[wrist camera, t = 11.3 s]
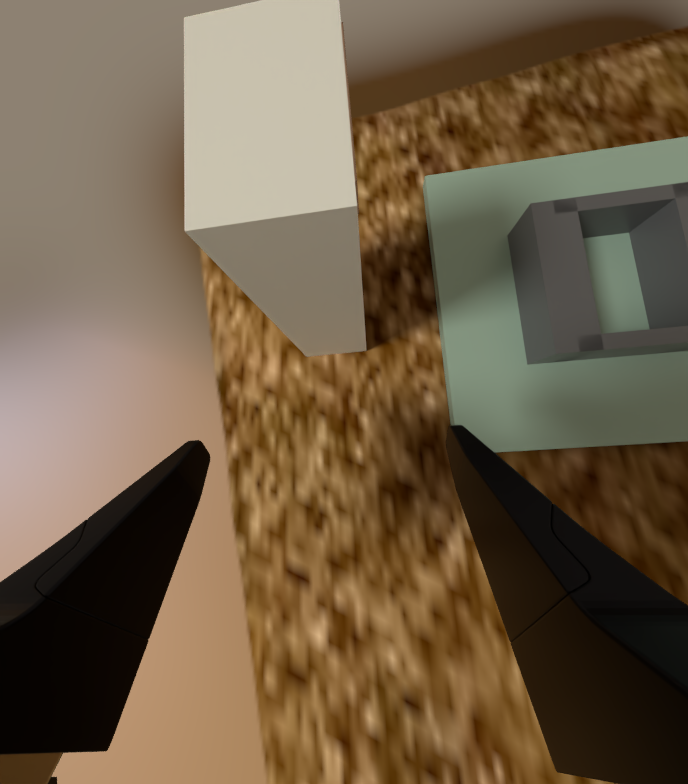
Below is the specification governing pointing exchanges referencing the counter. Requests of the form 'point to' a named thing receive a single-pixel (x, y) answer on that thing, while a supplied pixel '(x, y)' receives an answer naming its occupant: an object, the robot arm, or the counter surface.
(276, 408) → the counter surface
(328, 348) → the plug
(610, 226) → the green socket board
